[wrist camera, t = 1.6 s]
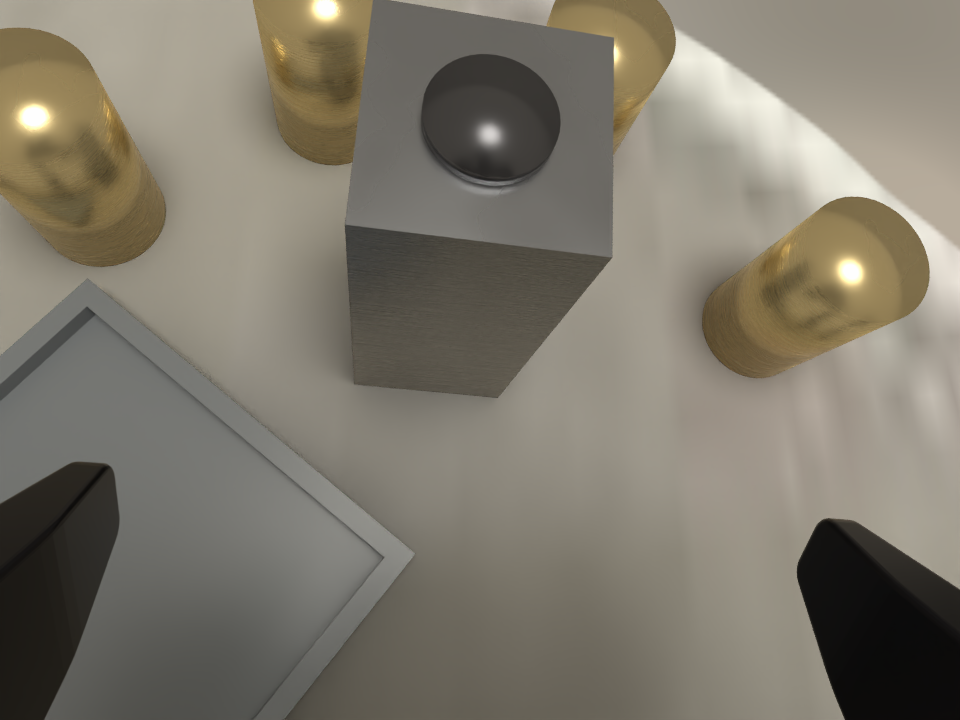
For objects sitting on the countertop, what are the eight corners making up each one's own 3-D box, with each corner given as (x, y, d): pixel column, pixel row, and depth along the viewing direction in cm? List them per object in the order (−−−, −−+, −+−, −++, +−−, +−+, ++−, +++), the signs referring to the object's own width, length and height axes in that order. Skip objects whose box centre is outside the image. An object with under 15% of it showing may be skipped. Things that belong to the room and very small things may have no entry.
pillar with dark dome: (497, 397, 23) (618, 250, 12) (354, 384, 22) (343, 216, 11) (504, 267, 24) (619, 25, 13) (369, 250, 23) (373, -16, 12)
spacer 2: (767, 399, 24) (892, 349, 18) (682, 332, 24) (781, 261, 18) (817, 323, 25) (950, 253, 19) (736, 259, 25) (845, 171, 20)
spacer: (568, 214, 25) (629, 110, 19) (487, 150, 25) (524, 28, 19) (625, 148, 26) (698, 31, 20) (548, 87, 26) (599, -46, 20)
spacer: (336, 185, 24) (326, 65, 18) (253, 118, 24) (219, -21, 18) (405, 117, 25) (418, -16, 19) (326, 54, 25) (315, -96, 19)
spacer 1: (103, 289, 22) (8, 192, 16) (14, 215, 22) (-110, 93, 16) (190, 210, 23) (132, 93, 17) (106, 140, 23) (20, 1, 17)
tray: (87, 964, 17) (67, 992, 16) (-277, 634, 18) (-320, 639, 17) (412, 554, 21) (415, 553, 20) (102, 293, 22) (87, 278, 20)
